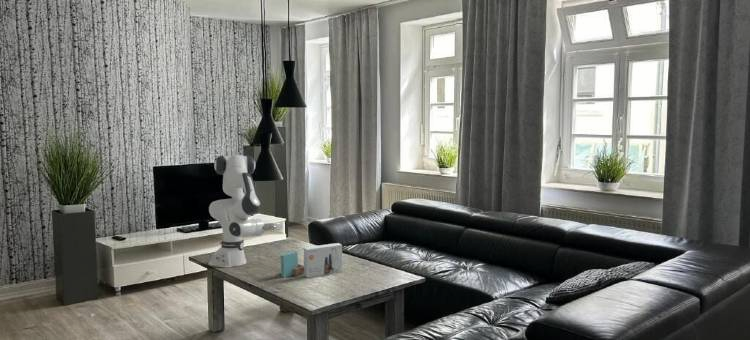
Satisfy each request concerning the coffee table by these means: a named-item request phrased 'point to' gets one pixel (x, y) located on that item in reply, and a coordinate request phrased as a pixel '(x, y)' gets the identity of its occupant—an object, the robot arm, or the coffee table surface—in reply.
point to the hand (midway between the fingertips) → (274, 226)
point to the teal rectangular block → (288, 263)
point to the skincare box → (322, 260)
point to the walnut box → (298, 270)
